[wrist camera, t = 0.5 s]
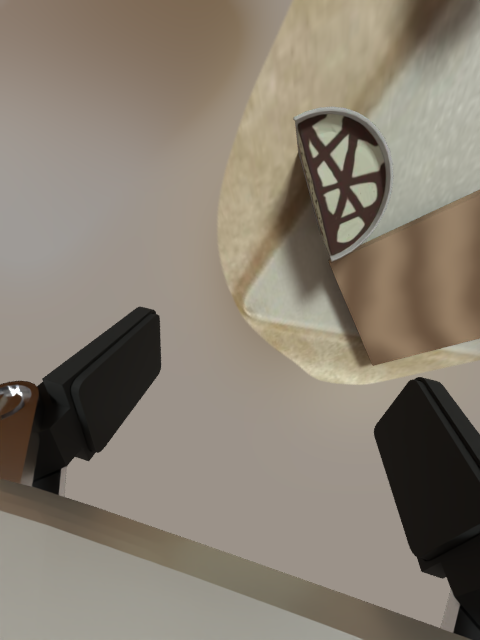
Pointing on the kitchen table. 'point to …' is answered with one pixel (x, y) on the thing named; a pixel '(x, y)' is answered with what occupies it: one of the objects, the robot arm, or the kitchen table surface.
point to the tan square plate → (416, 283)
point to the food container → (344, 175)
